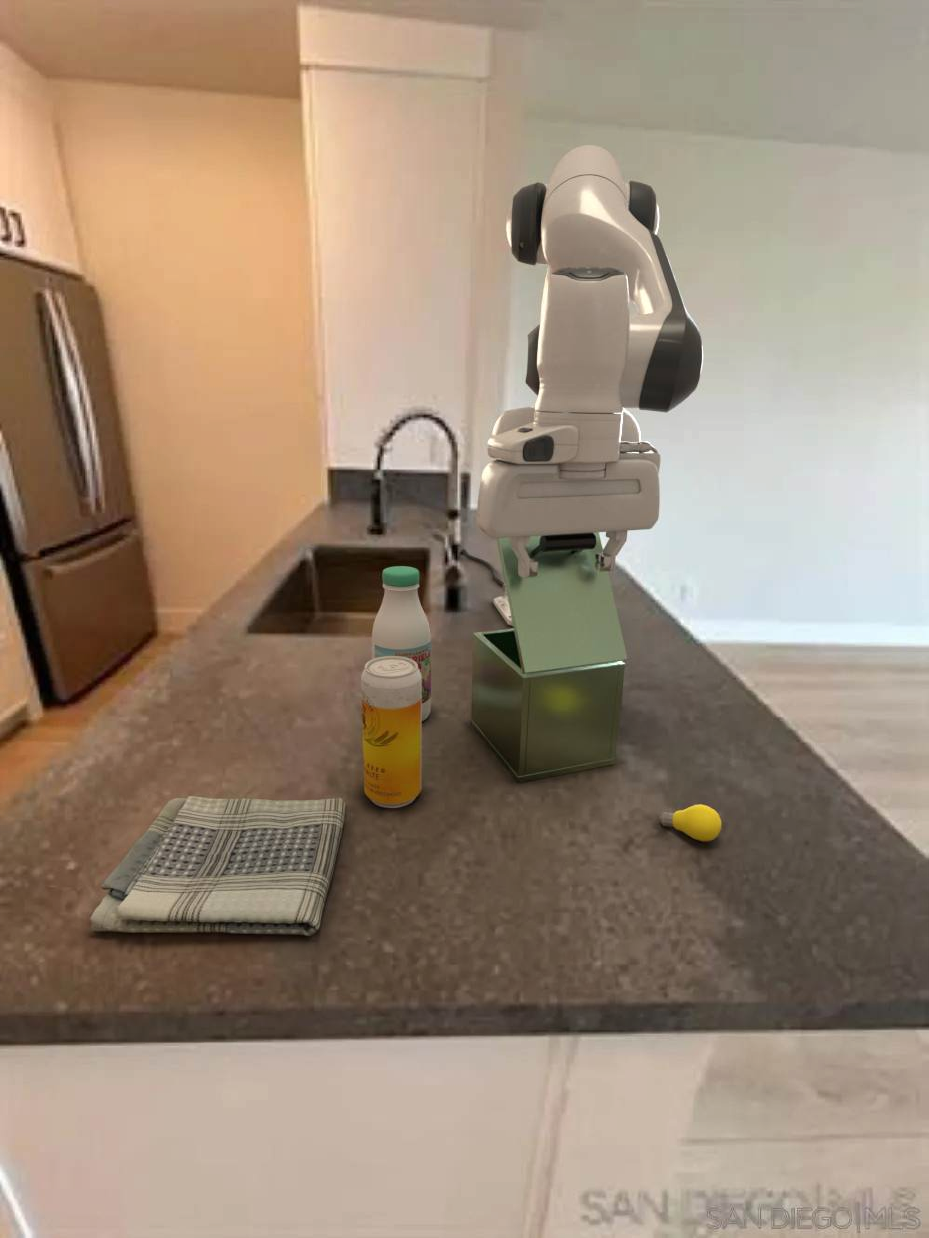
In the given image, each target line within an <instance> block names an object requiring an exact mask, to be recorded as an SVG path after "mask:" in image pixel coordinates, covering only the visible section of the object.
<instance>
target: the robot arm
mask: <svg viewBox="0 0 929 1238" xmlns="http://www.w3.org/2000/svg"><path fill="white" fill-rule="evenodd" d="M659 210H660V209H659V205H658V201H657V194H656V192H655V190H654V189H653V187H652V186H651V185H649V184H647V183H646V184H645V183H644V182H639V181H635V180H629V182H625V179H624V176H623V173H622V170H621V167H620V166H619V163H618V161H617V159H616V158H615V156H614V155H613V154H612V153H611V152H610V151H608V150H607V149H606V148H604V147H602V146H599V145H594V144H585V145H580V146H577V147H575V148H573V149H571V150H570V151H568V152H567V153H566V154H564V156H562V158H561V159H560V160H559V161H558V163H557V165H556V166H555V168H554V170H553V172H552V174H551V177H550V180H549V182H548V183H543V182H539V181H537V182H535V183H531V184H528V185H526V186H523V187H521V188H520V189H519V190H518V191H517V192H516V193H515V194H514V195H513V198H512V201H511V204H510V206H509V209H508V212H507V216H506V222H505V223H506V224H505V227H506V228H505V229H506V231H505V232H506V237H507V242H508V245H509V247H510V249H511V255H512V256H513V257H514V258H515V260H516V261H517V262H519V263H521V264H525V265H530V266H535V267H536V266H537V264H538V265H545V266H547V270H546V274H545V279H544V283H543V290H542V298H541V305H540V318H539V324H538V325H537V326H535V327H534V328H533V329H532V330H531V331H530V332H529V333H528V334H527V362H526V363H527V364H526V375H525V384H526V385H527V386H528V388H529V389H530V390H531V391H532V392H533V393H534V394H535V395H536V396H537V398H536V400H535V404H534V406H525V407H519V408H513V409H508V410H505V411H504V412H502V413H501V414H500V415H499V416H498V418H497V419H496V421H495V423H494V426H493V428H492V431H491V437H490V438H489V439H488V441H487V445H486V447H487V454H488V456H489V457H490V458H491V459H494V460H492V461H490V462H489V463H488V464H487V465H486V466H485V468H484V469H483V472H482V474H481V478H480V483H479V487H478V494H477V495H478V496H477V507H476V523H477V526H478V527H479V529H480V530H481V531H482V532H483V534H485V535H487V536H489V537H491V538H493V539H496V538H509V544H510V546H511V548H512V549H513V551H514V553H515V555H516V557H517V559H518V574H519V576H521V577H522V578H531V577H537V568H538V562H537V561H536V560H533V559H532V558H529V556H528V554H527V552H526V549H525V547H528V546H530V536H543V535H560V534H577V533H594V532H599V533H605V537H606V538H608V540H607V542H606V544H605V546H604V548H603V552H602V553H596V558H595V559H596V562H595V568H596V570H600V571H601V572H605V571H608V572H614V571H615V569H616V567H615V566H616V558H617V556H618V555H619V553H620V551H621V550H622V548H624V545H625V543H627V540H628V532H629V531H639V530H640V531H643V530H651V529H653V528H654V526H655V525H656V523H657V522H658V521H659V517H660V501H661V500H660V497H661V495H660V494H661V492H660V490H661V489H660V468H661V454H660V453H659V451H658V449H657V448H656V447H655V446H653V445H652V444H651V443H650V442H649V441H641V430H640V426H639V424H638V422H637V420H636V418H635V417H634V416H633V415H632V413H630V411H628V410H626V409H639V410H640V411H648V412H657V413H665V414H666V413H669V412H670V411H672V410H673V409H675V408H676V407H678V406H679V405H681V404H682V403H683V402H685V401H686V399H688V398H689V397H690V396H692V394H694V392H695V391H696V390H697V387H698V385H699V383H700V379H701V374H702V371H703V364H704V363H703V362H704V349H703V348H704V347H703V340H702V335H701V331H700V330H699V327H698V325H697V323H695V320H693V318H692V317H691V315H690V314H689V312H688V310H687V308H686V306H685V303H684V300H683V297H682V295H681V292H680V291H681V290H680V289H679V286H678V283H677V279H676V277H675V273H674V271H673V268H672V265H671V262H670V260H669V257H668V255H667V252H666V250H665V247H664V245H663V243H662V241H661V239H660V237H659V235H658V230H659V225H660V224H659V223H660V211H659ZM630 302H632V303H633V304H634V305H635V306H636V309H637V310H636V311H637V313H630V312H631V311H630V310H631V309H630V308H631V307H630ZM524 546H525V547H524ZM460 551H461V552H459V554H460V553H461V554H460V555H464V556H465V557H466V558H467V559H468V560H471V561H474V562H477V563H480V564H482V565H484V566H486V567H487V568H488V569H489V570H490V571H491V573H492V579H493V580H494V581H495V582H496V583H497V585H499V586H500V587H501V588H502V594H503V595H501V596H497V597H494V599H493V605H494V607H495V608H496V609H497V611H498V612H499V614H500V615H501V617H502V618H503V620H504V621H505V623H506V624H507V625H508V626H511V627H513V622H512V617H511V612H510V607H509V601H508V596H507V591H506V586H505V582H503V581H502V580H501V579H500V578H499V577H498V576H497V575H498V572H497V569H495V567H494V566H493V565H492V564H491V563H489V562H488V561H487V560H484V559H482V558H479V557H477V556H474V555H471V554H470V553H468V550H467V549H465V548H462V549H461V550H460Z"/></svg>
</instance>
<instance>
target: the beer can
mask: <svg viewBox="0 0 929 1238" xmlns="http://www.w3.org/2000/svg"><path fill="white" fill-rule="evenodd" d="M360 691H361V719H362V721H361V723H362V754H363V755H362V758H363V788H364V789H363V790H364V793H365V796H366V797H367V798H369V800H370V801H371V802H372V803H374V805H376V806H378V807H380V808H385V809H397V808H398V809H399V808H402V807H405V806H408V805H409V804H411V803H413V801H415V800H416V797H418V796H419V795H420V793H421V791H422V771H423V770H422V767H423V766H422V763H423V762H422V759H423V758H422V747H423V743H422V742H423V741H422V740H423V739H422V735H423V733H422V730H423V729H422V728H423V727H422V722H423V721H422V675H421V673H420V671H419V669H418V665H417V663H416V662H415V661H414V660H412V659H410V658H406V657H401V656H384V657H378V658H375V659H372V658H371V659H370V660H368V661H367V662H366V663H365V664H364V669H363V671H362V673H361V675H360Z"/></svg>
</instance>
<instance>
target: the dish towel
mask: <svg viewBox="0 0 929 1238" xmlns="http://www.w3.org/2000/svg"><path fill="white" fill-rule="evenodd" d="M346 814H347V803H346V802H345V800H343V798H341V797H335V798H334V797H333V798H321V799H307V800H303V799H299V800H296V799H290V800H289V799H288V800H274V799H260V798H207V797H201V796H193V795H192V796H191V795H189V796H188V797H187V798H184V797H174V798H173V799H170V800H168V802H167V803H166V804H165V805H164V806H163V807H162V809H161V811H160V812H159V813H158V815H157V817H156V818H155V820H154V821H152V822H151V824H150V825H149V827H148V829H147V830H146V831H145V832H144V833H143V834H142V836H140V837H139V839H138V840H137V841H136V842H135V843H134V844H132V847H131V848H130V849H129V851H128V852H127V854H126V855H125V856H123V858H122V860H121V861H120V862H119V863H118V864H117V866H116V867H115V868H114V869H113V870H112V872H111V873H110V874H109V875H107V877H106V878H105V880H104V881H103V883H102V884H101V885H100V887H101V889H102V890H104V891H106V890H109V891H108V893H107V894H106V895H105V896H104V897H103V898H102V900H101V902H100V903H99V905H98V906H97V907H96V908H95V909H94V911H93V912H92V915H90V918H89V919H90V923H91V925H90V931H92V932H115V933H116V932H117V933H118V932H119V933H133V934H135V933H148V934H151V933H152V934H153V933H163V934H164V933H165V934H166V933H170V934H171V933H189V934H191V933H228V934H238V935H239V934H240V935H241V934H245V935H289V936H290V935H298V936H305V937H311V936H313V935H314V934H316V933H317V932H318V930H320V927H321V922H322V917H323V911H324V909H325V903H326V899H327V895H328V891H329V889H330V886H331V882H332V879H333V876H334V871H335V865H336V861H337V855H338V854H339V853H338V852H339V847H340V843H341V841H342V840H341V839H342V835H343V829H344V825H345V821H346Z"/></svg>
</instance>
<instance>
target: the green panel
mask: <svg viewBox="0 0 929 1238" xmlns="http://www.w3.org/2000/svg"><path fill="white" fill-rule="evenodd" d="M495 540H496V544H497V549H498V555H499V560H500V566H501V570H502V575H503V580H504V583H505V586H506V591H507V596H508V601H509V607H510V612H511V617H512V622H513V626H512V627H513V629H514V632H515V638H516V643H517V648H518V653H519V658H520V663H521V669H522V674H529V673H536V672H544V671H551V670H558V669H566V668H573V667H581V666H588V665H596V664H603V663H611V662H618V661H622V662H624V661H627V660H629V658H628V654H627V650H626V645H625V642H624V637H623V632H622V627H621V623H620V619H619V615H618V610H617V606H616V601H615V597H614V592H613V588H612V584H611V579H610V575H609V571H605V572H601V571H600V570H596V568H595V562H596V559H595V558H596V553H602V552H603V550H604V548H603V544H602V539H601V535H600V532H594V533H577V534H560V535H543V536H530V546H528V547H525V546H524V547H525V549H526V552H527V554H528V556H529V558H532V559H533V560H536V561H537V562H538V568H537V577H531V578H522V577H521V576H519V574H518V559H517V557H516V555H515V553H514V551H513V549H512V548H511V546H510V544H509V538H495Z"/></svg>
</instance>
